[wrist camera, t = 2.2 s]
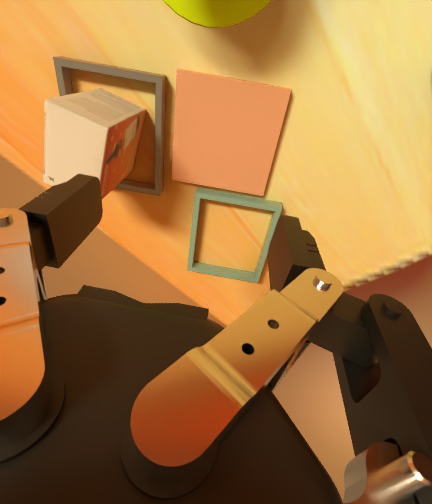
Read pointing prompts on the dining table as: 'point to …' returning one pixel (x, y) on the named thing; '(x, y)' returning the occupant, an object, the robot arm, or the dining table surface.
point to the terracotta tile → (226, 131)
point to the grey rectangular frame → (160, 80)
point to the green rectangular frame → (237, 200)
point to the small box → (91, 137)
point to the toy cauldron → (217, 11)
